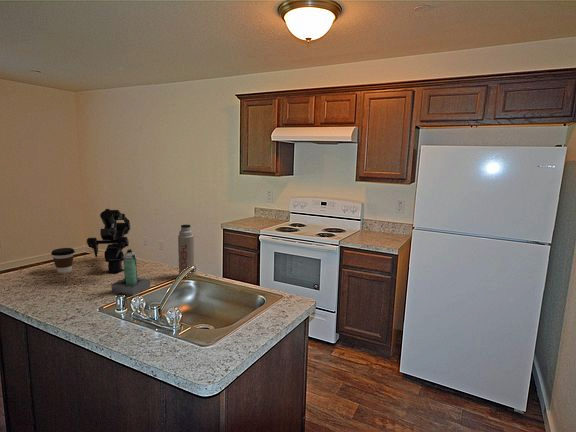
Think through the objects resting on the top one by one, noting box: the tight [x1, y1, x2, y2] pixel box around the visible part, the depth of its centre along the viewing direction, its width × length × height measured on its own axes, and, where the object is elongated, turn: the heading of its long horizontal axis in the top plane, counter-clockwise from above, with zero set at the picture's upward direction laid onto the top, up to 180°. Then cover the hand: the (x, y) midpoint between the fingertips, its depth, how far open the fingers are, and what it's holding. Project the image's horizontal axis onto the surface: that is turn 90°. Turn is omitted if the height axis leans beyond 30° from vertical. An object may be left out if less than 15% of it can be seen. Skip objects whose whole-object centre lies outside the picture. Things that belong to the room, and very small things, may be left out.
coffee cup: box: [50, 247, 76, 274], centre depth 198 cm, size 11×11×12 cm
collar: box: [111, 277, 151, 297], centre depth 175 cm, size 12×12×4 cm
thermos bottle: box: [177, 224, 195, 277], centre depth 194 cm, size 8×8×28 cm
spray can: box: [123, 248, 138, 285], centre depth 173 cm, size 6×6×20 cm
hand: (106, 256), depth 182 cm, fingers open, 9 cm apart
